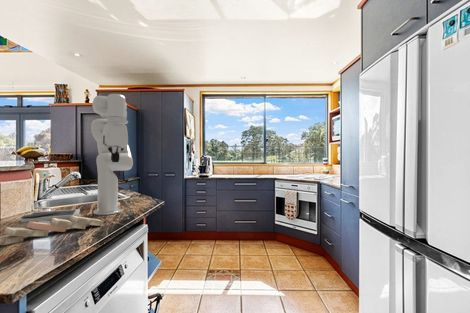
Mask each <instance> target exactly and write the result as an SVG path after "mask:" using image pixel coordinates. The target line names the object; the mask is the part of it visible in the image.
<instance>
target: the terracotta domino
mask: <svg viewBox="0 0 470 313" xmlns="http://www.w3.org/2000/svg"><path fill="white" fill-rule="evenodd" d="M26 228H31V229H38V230H49V232H50V231H51V232H59V233H60V232H62V233H66V231H67V228H68V227H62V226H54V225H52V224H51V223H48V222H47V223H46V222H41V221H29V222H27V225H26Z"/></svg>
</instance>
